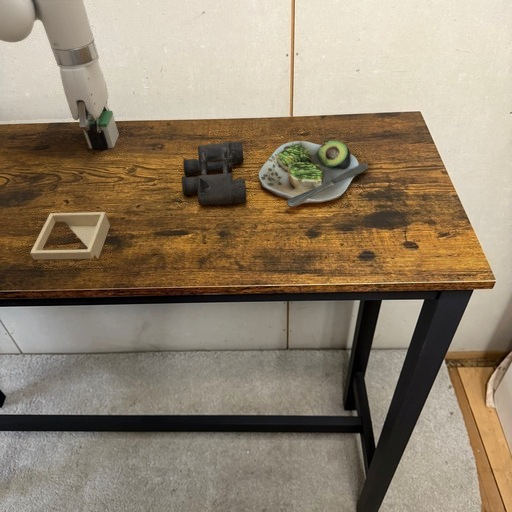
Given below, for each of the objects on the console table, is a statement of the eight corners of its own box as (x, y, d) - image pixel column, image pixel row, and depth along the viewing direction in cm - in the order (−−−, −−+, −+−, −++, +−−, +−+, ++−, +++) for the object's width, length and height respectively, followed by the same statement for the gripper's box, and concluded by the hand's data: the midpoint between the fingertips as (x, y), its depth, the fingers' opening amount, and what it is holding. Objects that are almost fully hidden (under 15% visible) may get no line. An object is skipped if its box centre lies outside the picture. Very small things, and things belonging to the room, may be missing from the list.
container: (89, 148, 93) (80, 124, 89) (95, 135, 97) (87, 111, 93) (113, 148, 93) (106, 123, 89) (119, 134, 97) (112, 110, 93)
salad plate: (333, 227, 74) (336, 205, 70) (239, 197, 80) (237, 176, 77) (373, 165, 85) (376, 143, 82) (287, 143, 92) (287, 122, 88)
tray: (37, 267, 70) (29, 253, 68) (56, 226, 77) (50, 213, 75) (96, 266, 70) (89, 252, 68) (110, 225, 76) (105, 211, 74)
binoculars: (183, 212, 78) (177, 182, 74) (187, 159, 89) (182, 131, 85) (247, 207, 78) (245, 177, 74) (243, 155, 89) (240, 126, 85)
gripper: (69, 35, 88) (97, 120, 101) (38, 74, 76) (74, 164, 89) (107, 33, 88) (130, 119, 101) (82, 72, 76) (112, 163, 89)
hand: (104, 139), depth 95 cm, fingers open, 5 cm apart
